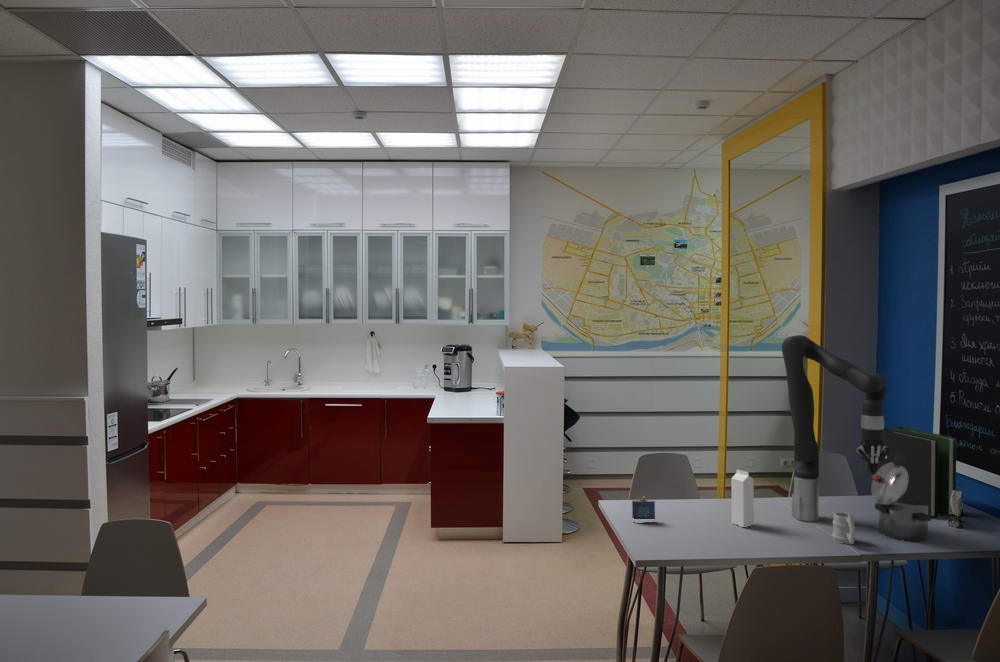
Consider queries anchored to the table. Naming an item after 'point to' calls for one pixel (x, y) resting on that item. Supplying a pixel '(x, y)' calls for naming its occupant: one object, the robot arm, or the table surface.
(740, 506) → the milk
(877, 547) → the table surface
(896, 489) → the lid
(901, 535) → the pot
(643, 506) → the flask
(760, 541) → the table surface
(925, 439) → the binder
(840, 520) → the mug
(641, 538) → the table surface
